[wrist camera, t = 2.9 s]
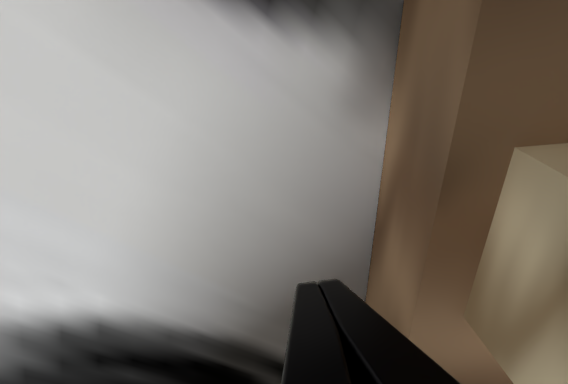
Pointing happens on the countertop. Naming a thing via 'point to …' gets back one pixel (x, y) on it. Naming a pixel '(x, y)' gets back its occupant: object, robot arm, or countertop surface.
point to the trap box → (459, 159)
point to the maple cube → (527, 270)
